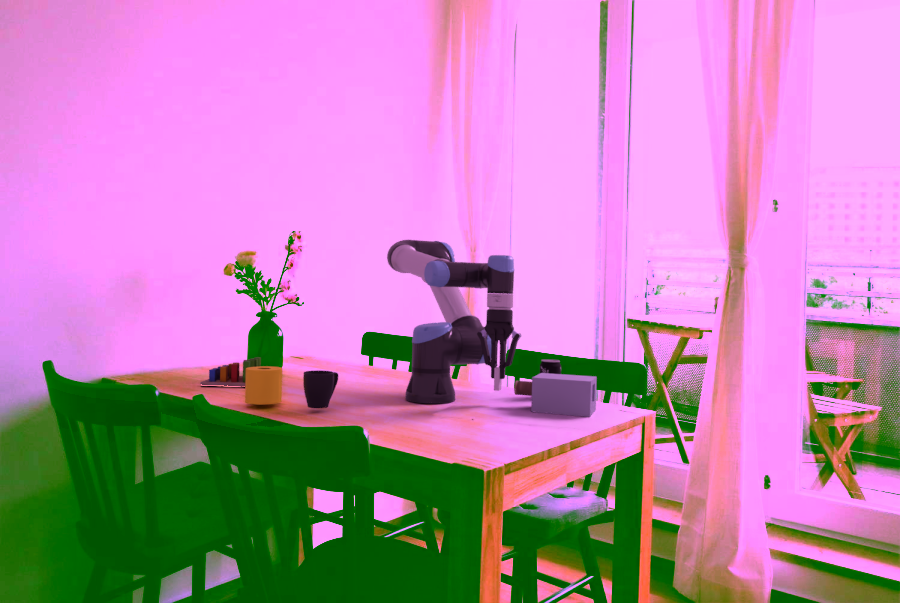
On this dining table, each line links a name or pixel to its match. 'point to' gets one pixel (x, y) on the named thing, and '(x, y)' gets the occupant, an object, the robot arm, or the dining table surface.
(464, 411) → the dining table surface
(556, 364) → the beverage can
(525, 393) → the peg
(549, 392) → the block
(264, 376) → the toilet paper roll
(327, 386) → the mug
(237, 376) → the peg board toy
